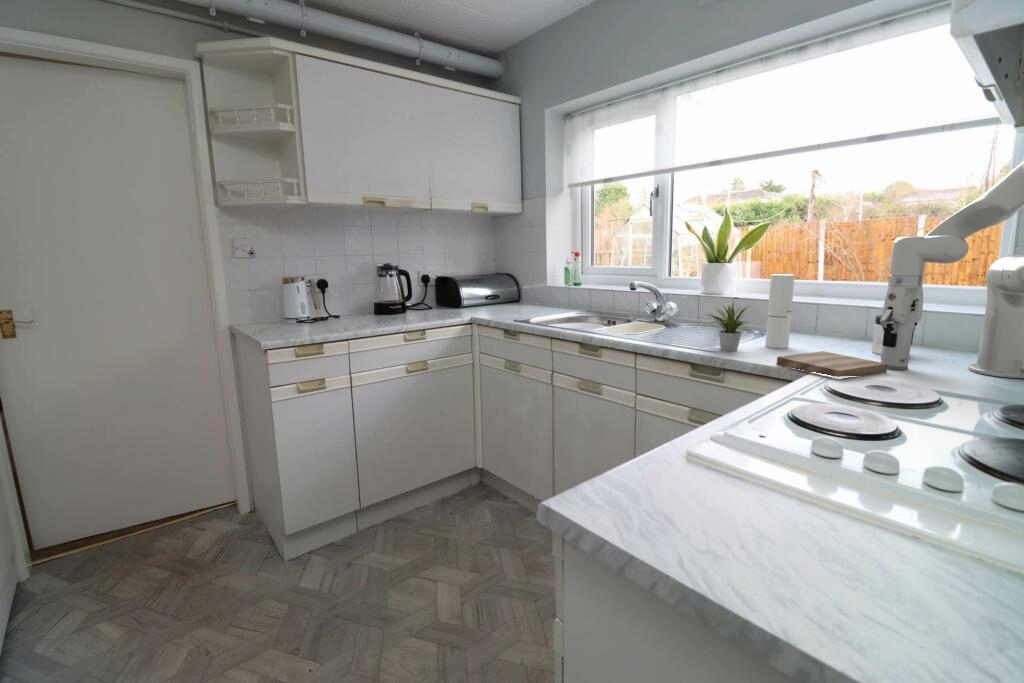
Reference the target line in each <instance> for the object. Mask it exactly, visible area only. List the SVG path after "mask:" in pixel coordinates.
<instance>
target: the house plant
mask: <svg viewBox="0 0 1024 683" xmlns="http://www.w3.org/2000/svg"><path fill="white" fill-rule="evenodd" d="M721 306H722V308H724V309H725V312H726V314H725V312H724V311H723V310H722V309H720V308H718V307H714V306H713V309H714V310H716V311H717V312H718V313H719V314H720V315H721V316H722V318H721V317H719V316H716V315H712V314H707V313H706V315H707V316H709V317H712V318H711V319H712V320H713V319H714V321H711V322H710V324H713V323H718V324H719V325H720V326H721V327H722V328H723V329H722V330H719V331H718V335H719V345H720V350H721V351H725V352H737V351H738V348H739V345H740V340H741V336H742V331H739V330H738V328H740V327H741V326H744V325H745V326H746V324H747V322H746V320H741V319H742V316H743V314H744V313H745V311H746V310H748V308H751V307H752V305H749V306H746V307H745V306H744V305H742V306H739V308H737V310H736V311H735V306H734V303H732V306H730V305H729V304H727V308H726V307H725V305H723V304H722V303H721ZM743 307H744V308H743ZM741 308H743V309H741ZM740 309H741V310H740ZM739 310H740V312H739V313H738V311H739ZM737 313H738V315H737Z"/></svg>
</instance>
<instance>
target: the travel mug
mask: <svg viewBox="0 0 1024 683" xmlns="http://www.w3.org/2000/svg"><path fill="white" fill-rule="evenodd" d="M917 301H918V299H917ZM915 302H916V300H913V302H912V303H913V304H912V305H911V308H913V307H915V306H916V305H915ZM910 312H911V313H912V314H910V320H909V323H906V324H899V325H898V328H897V330H896V333H897V340H896V347H894V348H892V347H886V346H883V348H882V354H881V357H880V362H881V363H886V364H887V370H892V371H906V370H908V368H909V363H910V362H909V360H910V354H911V346H912V345H911V340H912V332H914V331H913V325H914V314H913V313H914V312H915V308H914V309H912V310H910ZM890 321H893V322H896V321H895V320H894V319H890ZM893 325H894V324H891V326H892V328H893Z"/></svg>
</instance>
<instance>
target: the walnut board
mask: <svg viewBox="0 0 1024 683" xmlns="http://www.w3.org/2000/svg"><path fill="white" fill-rule="evenodd" d="M777 364H778V365H777ZM776 365H777V366H779V365H782V366H781V367H783V366H787V367H790V368H789V369H791V368H795V369H800V370H804V371H807V372H806V373H808V372H816V373H821V374H827V375H831V376H838V377H839V376H861V377H866V376H872V375H874V376H875V375H879V374H886V373H887V371H888V369H887V364H886V363H881V361H876V360H870V359H864V358H861V357H856V356H855V357H854V356H850V355H845V354H839V353H835V352H829V351H825V350H820V351H813V352H805V353H797V354H789V355H782V356H781V355H780V356H777V357H776ZM787 367H786V368H787ZM795 369H794V370H795ZM800 370H799V371H800ZM804 371H803V372H804Z"/></svg>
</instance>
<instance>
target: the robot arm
mask: <svg viewBox="0 0 1024 683" xmlns="http://www.w3.org/2000/svg"><path fill="white" fill-rule="evenodd" d="M1023 208H1024V160H1023V161H1022V162H1020V163H1019V164H1018V165H1017V166H1015V167H1014V168H1013V169H1012V170H1011V171H1009V172H1008V173H1007V174H1006V175H1004V176H1003V177H1002V178H1001V179H1000V180H998V181H997V182H996V183H995V184H994V185H993V186H991V187H990V188H989V189H988V190H986V191H985V193H983V194H981V195H980V196H979V197H978V198H977V199H975V200H974V201H972V202H970V203H968V204H967V205H966V206H964V207H963V208H961V209H959V210H958V211H957V212H955V213H953V214H951V215H949V216H948V217H946V219H944V220H943V221H941V222H940V223H938V225H937V226H935V227H934V228H933V229H932V230H930V231H929V232H928V233H927V234H926V235H924V236H920V235H919V236H900V237H899V236H898V237H897V238H896V239H894V241H893V246H892V253H891V260H890V269H889V275H888V284H887V287H888V289H887V290H886V294H885V299H884V304H883V309H882V310H883V311H882V315H883V316H882V318H881V319H880V323H881V324H882V327H883V332H884V336H883V344H882V345H883V346H886V347H892V348H894V347H896V340H897V333H896V330H897V328H898V325H899V324H906V323H909V320H910V314H912V313H911V312H910V310H912V309H914V308H915V312H914V313H913V314H914V325H913V332H912V340H911V346H912V345H913V340H914V339H913V338H914V335H915V334H914V333H915V331H916V327H917V325H918V323H920V321H921V320H922V317H923V309H924V308H923V307H924V289H923V285H924V277H925V271H926V263H929V264H940V265H941V264H942V265H949V264H954V263H957V262H959V261H961V260H963V259H964V258H965V257H966V256H967V255H968V253H969V249H970V244H969V242H967V240H966V239H968V238H969V237H970V236H972V235H974V234H976V233H978V232H980V231H982V230H985V229H987V228H991V227H994V226H996V225H998V224H1001V223H1003V222H1005V221H1007V220H1009V219H1011V217H1013V216H1014V215H1016V214H1017V213H1018V212H1019V211H1020V210H1022V209H1023ZM985 279H986V280H985V281H986V305H985V311H984V318H983V322H982V323H983V324H982V329H981V333H980V334H981V336H980V340H979V348H978V353H977V360H976V363H970V364H969V365H968V370H969V371H971V372H974V373H977V374H981V375H986V376H992V377H999V378H1011V379H1024V254H1011V255H1010V254H1009V255H1006V256H1003V257H1001V258H999V259H997V260H995V261H994V262H993V263H992V264H991V265H990V266H989V268H988V270H987V272H986V278H985ZM917 299H918V301H917ZM913 300H916V302H915V305H916V306H915V307H913V308H911V305H912V304H913V303H912V302H913ZM890 319H894V320H895V321H896V322H893V321H890ZM891 324H894V325H893V328H892V326H891Z"/></svg>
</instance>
